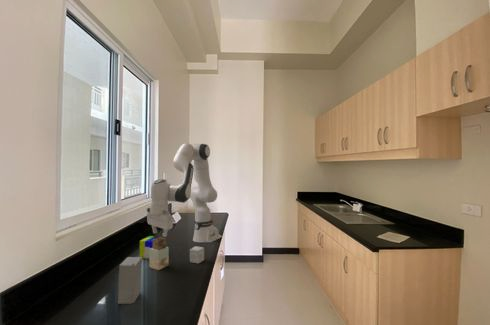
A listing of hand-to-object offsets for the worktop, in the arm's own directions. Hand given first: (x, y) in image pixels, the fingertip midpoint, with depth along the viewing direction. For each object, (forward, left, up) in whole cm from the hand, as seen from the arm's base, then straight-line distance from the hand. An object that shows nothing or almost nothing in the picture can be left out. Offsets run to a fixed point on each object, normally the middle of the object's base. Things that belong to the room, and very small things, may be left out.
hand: (159, 234), depth 132 cm
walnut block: (0, 0, -7) cm, 7 cm away
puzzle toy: (-6, -18, -17) cm, 26 cm away
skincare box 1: (+25, +20, -17) cm, 37 cm away
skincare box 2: (-18, +10, -17) cm, 27 cm away
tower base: (0, 0, -17) cm, 17 cm away
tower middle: (0, 0, -12) cm, 12 cm away
